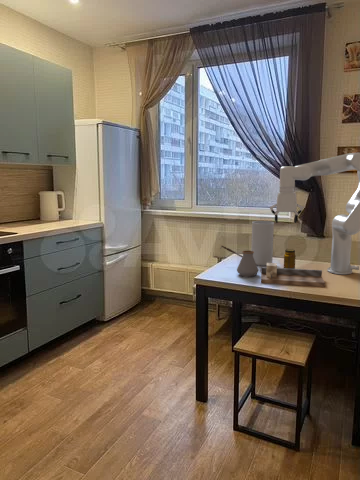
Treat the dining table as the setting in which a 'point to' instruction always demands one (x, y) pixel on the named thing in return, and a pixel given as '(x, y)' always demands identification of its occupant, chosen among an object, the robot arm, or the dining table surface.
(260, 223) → the cylinder vase
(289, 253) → the condiment
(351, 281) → the dining table surface
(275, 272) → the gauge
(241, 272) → the coffee pot
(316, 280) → the board
